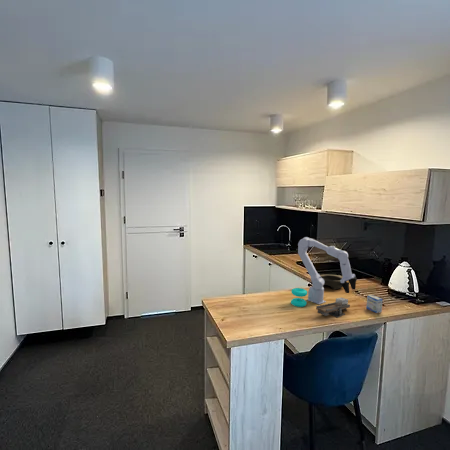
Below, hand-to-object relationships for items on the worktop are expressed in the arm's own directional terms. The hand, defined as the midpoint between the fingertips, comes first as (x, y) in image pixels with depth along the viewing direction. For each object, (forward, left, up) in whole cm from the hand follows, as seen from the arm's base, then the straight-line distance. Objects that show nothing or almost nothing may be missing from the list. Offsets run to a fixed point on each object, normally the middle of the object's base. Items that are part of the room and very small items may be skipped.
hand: (350, 291), depth 193 cm
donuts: (-22, -23, -11) cm, 34 cm away
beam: (-1, -17, -10) cm, 20 cm away
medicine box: (+12, +8, -11) cm, 18 cm away
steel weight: (-1, -8, -8) cm, 11 cm away
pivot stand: (-1, -13, -11) cm, 17 cm away
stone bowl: (-33, +30, -11) cm, 46 cm away
